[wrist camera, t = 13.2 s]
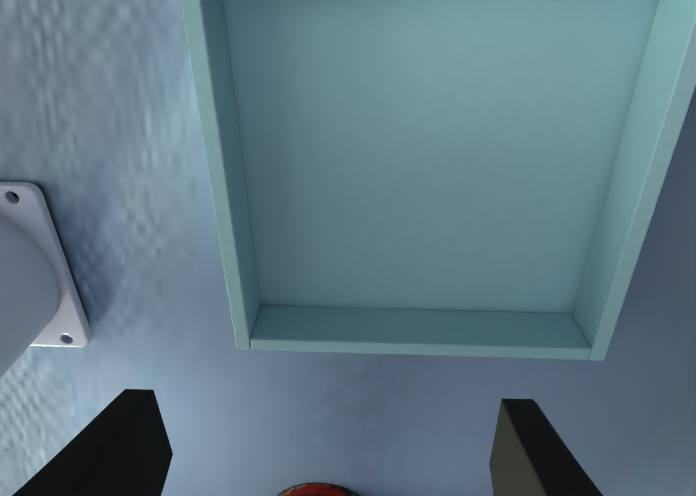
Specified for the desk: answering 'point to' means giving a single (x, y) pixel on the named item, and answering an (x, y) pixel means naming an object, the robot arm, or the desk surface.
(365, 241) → the baking pan
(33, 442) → the desk surface
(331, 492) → the deodorant
